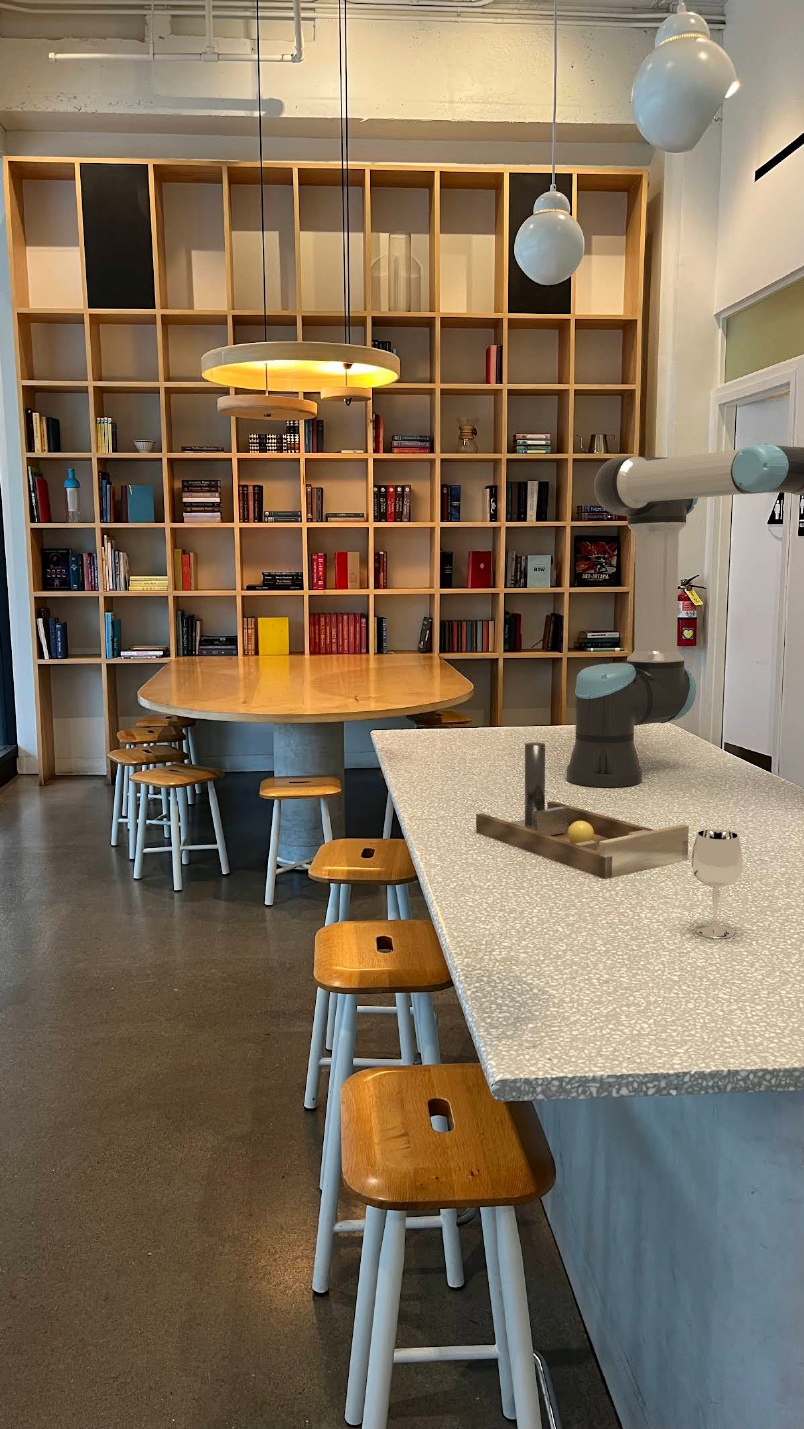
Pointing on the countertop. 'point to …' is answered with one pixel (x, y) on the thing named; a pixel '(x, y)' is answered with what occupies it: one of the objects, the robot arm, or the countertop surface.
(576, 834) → the ball
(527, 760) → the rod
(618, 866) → the lane
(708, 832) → the wineglass
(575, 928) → the countertop surface
